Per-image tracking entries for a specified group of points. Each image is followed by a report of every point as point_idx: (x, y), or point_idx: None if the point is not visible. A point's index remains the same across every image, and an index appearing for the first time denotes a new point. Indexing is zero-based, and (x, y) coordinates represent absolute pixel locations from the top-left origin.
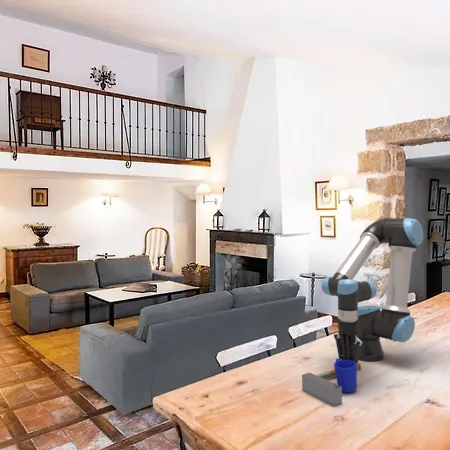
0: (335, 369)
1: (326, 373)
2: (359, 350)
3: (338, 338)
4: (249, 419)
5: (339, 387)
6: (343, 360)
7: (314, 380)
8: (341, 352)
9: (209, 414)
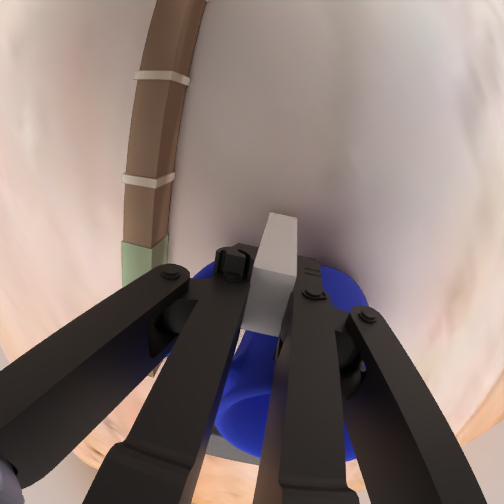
0: (261, 435)
1: (139, 270)
2: (448, 460)
3: (11, 479)
4: (214, 489)
5: None
6: (251, 395)
7: (226, 458)
8: (146, 360)
9: None
